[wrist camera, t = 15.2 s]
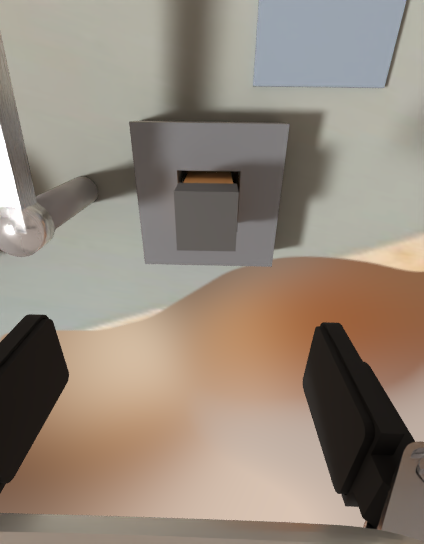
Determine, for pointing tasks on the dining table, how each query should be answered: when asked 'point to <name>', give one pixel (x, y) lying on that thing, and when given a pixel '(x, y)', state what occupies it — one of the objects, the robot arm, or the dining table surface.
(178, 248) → the plug
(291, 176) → the dining table surface
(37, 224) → the silver bent bar
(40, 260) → the dining table surface
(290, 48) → the mat
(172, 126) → the socket
